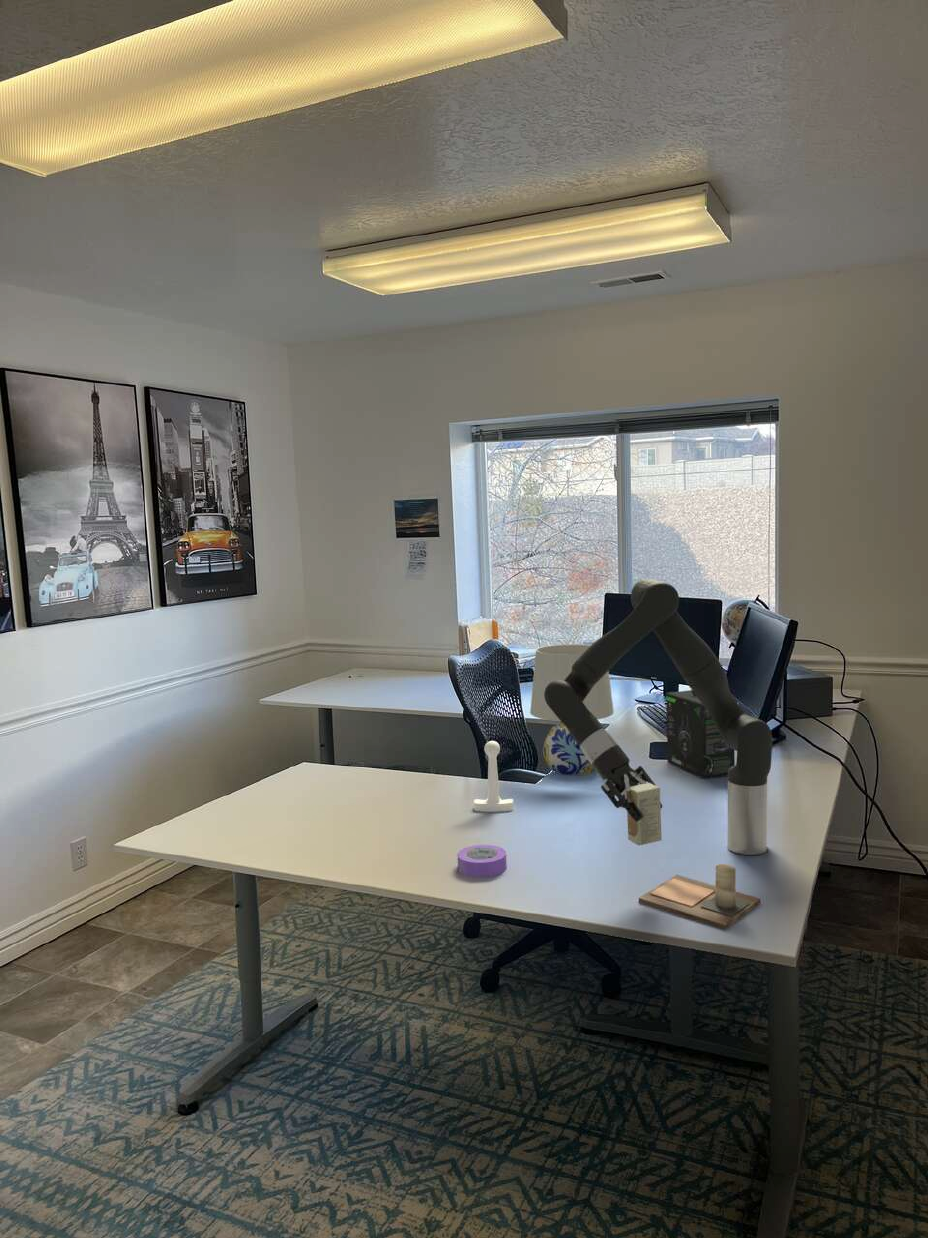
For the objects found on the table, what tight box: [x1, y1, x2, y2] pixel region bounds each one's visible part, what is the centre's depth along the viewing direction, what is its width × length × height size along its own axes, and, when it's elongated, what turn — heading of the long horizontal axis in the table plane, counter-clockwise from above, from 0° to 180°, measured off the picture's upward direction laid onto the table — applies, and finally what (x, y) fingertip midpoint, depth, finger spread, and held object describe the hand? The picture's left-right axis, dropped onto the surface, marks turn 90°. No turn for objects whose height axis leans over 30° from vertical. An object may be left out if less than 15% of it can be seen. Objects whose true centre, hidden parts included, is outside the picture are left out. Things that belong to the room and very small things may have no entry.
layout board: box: [638, 863, 762, 931], centre depth 189 cm, size 16×20×9 cm
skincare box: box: [626, 782, 663, 846], centre depth 194 cm, size 6×4×12 cm
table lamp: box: [529, 643, 615, 776], centre depth 289 cm, size 27×27×40 cm
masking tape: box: [457, 844, 508, 878], centre depth 212 cm, size 12×12×4 cm
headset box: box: [665, 689, 736, 779], centre depth 287 cm, size 22×12×26 cm, turn 17°
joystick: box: [473, 740, 514, 813], centre depth 254 cm, size 11×8×20 cm
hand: (649, 814), depth 193 cm, fingers closed on skincare box, 7 cm apart
